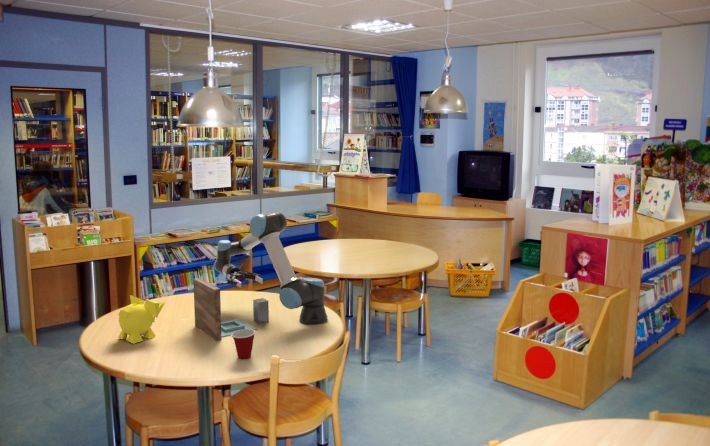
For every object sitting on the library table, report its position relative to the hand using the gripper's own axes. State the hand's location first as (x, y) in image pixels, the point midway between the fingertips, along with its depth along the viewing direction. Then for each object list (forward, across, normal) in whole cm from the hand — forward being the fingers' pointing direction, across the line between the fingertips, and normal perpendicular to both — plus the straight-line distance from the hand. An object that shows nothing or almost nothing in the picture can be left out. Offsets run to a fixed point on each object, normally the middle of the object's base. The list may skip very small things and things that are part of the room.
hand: (251, 283), depth 334 cm
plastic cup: (+48, +32, -16) cm, 60 cm away
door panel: (+8, +30, -20) cm, 36 cm away
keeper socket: (+9, +17, -20) cm, 27 cm away
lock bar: (+10, -1, -19) cm, 21 cm away
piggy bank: (-9, +59, -22) cm, 63 cm away
